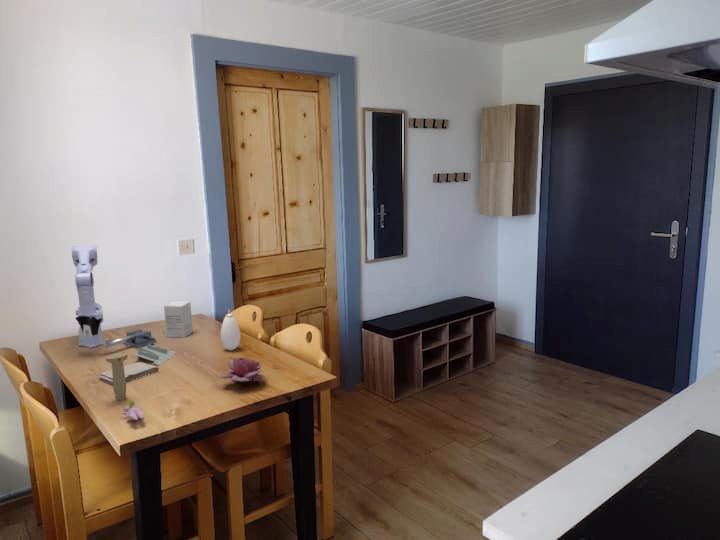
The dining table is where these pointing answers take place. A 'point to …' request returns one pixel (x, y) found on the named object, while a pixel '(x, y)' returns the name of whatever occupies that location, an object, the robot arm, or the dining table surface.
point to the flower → (244, 370)
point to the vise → (133, 339)
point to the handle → (118, 374)
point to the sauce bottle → (230, 332)
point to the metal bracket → (154, 354)
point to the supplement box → (178, 319)
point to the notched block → (87, 330)
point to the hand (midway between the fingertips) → (90, 333)
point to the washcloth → (130, 372)
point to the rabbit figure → (133, 411)
